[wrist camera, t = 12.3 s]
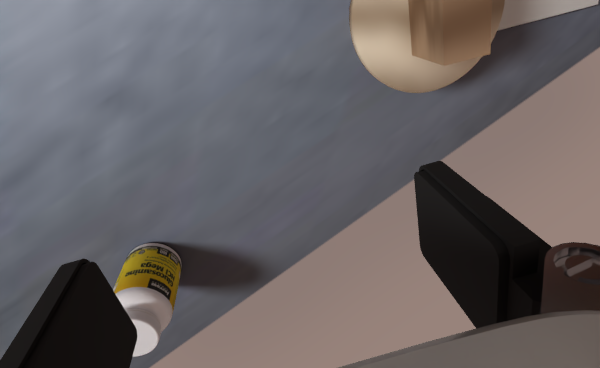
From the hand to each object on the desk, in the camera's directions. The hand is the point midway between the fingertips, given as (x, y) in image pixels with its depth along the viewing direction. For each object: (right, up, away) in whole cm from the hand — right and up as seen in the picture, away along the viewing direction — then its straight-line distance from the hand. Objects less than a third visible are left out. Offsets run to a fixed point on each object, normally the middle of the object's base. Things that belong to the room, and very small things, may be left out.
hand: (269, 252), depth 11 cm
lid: (+11, +16, +20) cm, 28 cm away
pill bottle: (-16, -7, +33) cm, 37 cm away
